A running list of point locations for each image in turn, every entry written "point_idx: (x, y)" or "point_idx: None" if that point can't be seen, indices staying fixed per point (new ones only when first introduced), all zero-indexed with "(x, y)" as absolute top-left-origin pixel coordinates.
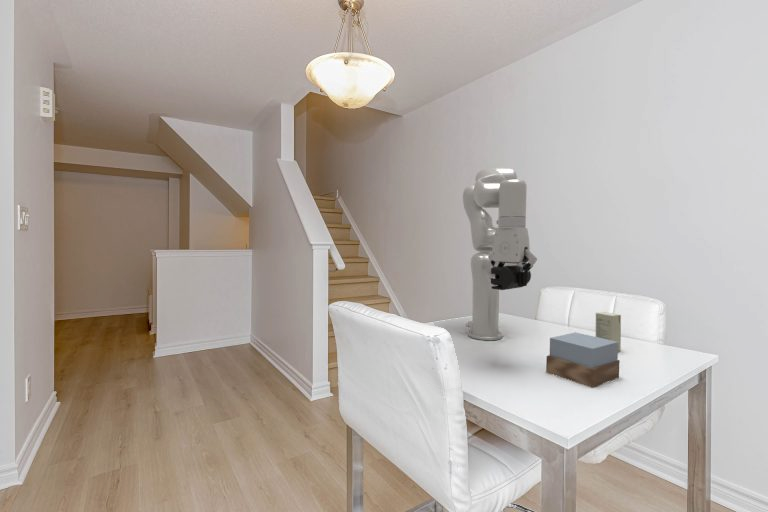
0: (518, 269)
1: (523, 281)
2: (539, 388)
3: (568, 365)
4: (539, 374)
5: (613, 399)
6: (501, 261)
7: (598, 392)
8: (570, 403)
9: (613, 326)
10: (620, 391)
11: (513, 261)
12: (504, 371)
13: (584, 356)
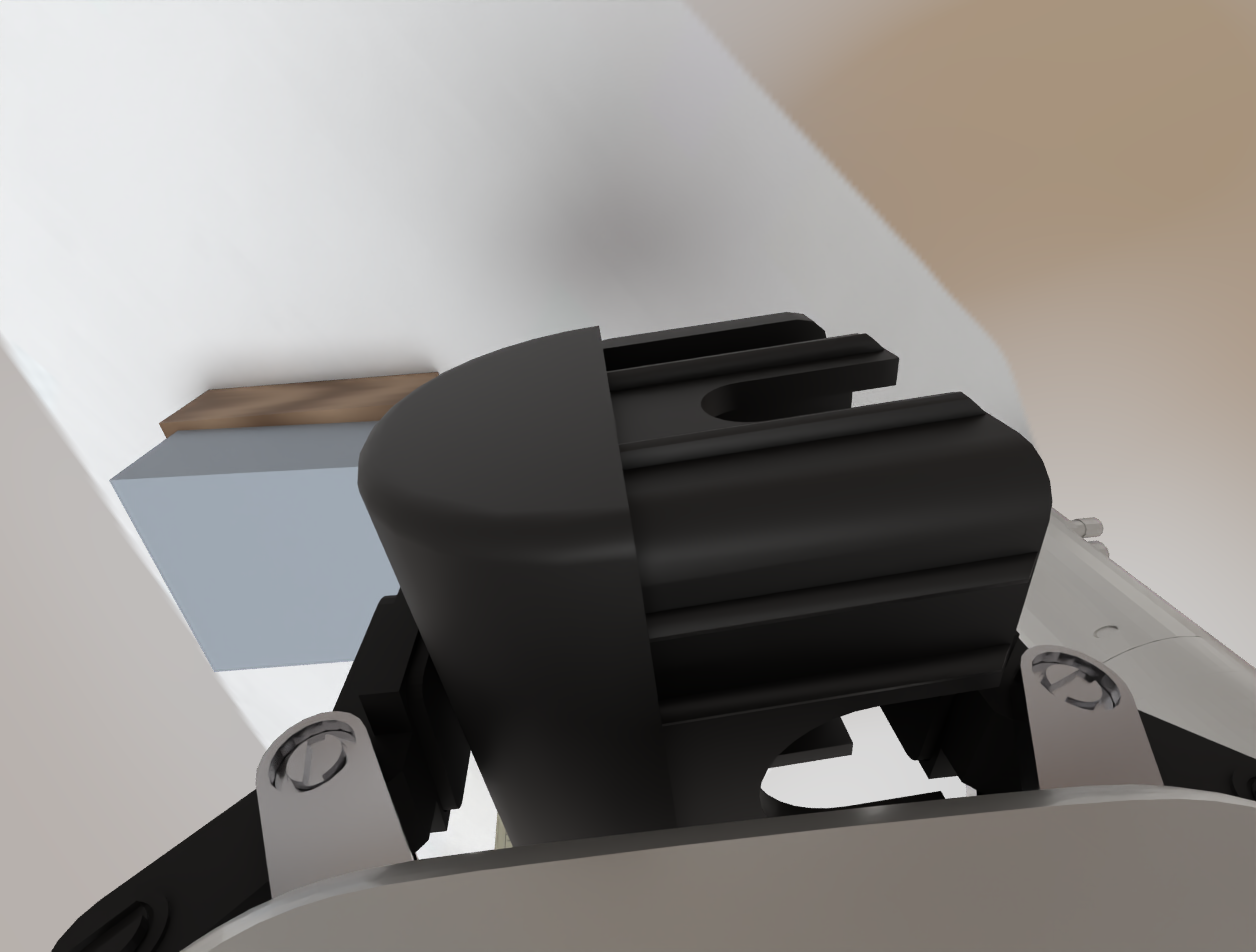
0: (504, 800)
1: (378, 607)
2: (260, 148)
3: (299, 405)
4: (425, 319)
5: (65, 346)
6: (912, 817)
7: (152, 361)
8: (39, 115)
9: (495, 842)
10: (146, 447)
11: (366, 919)
12: (533, 190)
13: (192, 451)
